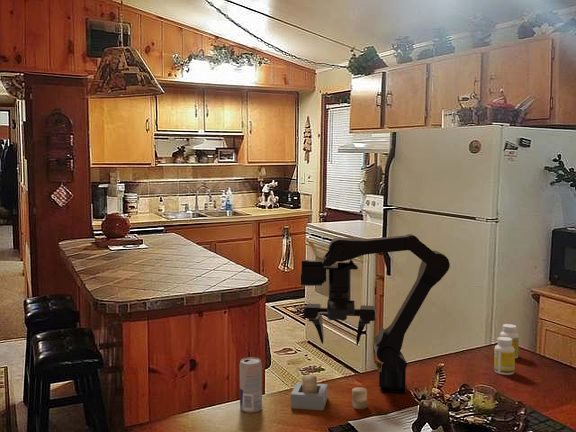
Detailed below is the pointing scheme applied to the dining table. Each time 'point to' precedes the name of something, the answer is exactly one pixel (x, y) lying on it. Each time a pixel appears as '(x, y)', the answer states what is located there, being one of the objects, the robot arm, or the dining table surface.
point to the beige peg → (309, 384)
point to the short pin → (359, 398)
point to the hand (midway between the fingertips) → (339, 344)
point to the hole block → (309, 398)
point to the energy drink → (250, 385)
